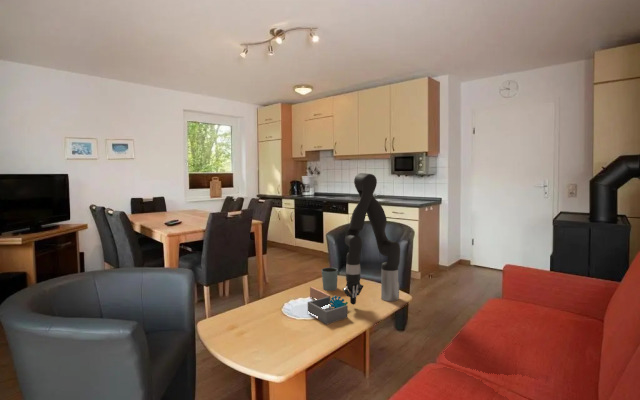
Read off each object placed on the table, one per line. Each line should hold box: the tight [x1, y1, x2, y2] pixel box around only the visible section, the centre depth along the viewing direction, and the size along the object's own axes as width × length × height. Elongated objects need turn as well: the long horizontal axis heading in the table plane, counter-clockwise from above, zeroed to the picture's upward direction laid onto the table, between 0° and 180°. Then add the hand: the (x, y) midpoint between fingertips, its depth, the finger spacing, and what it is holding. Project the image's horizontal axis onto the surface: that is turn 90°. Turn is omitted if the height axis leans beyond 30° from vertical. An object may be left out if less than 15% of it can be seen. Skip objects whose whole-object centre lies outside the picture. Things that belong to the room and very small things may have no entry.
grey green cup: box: [321, 267, 339, 292], centre depth 215 cm, size 10×10×12 cm
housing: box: [307, 297, 348, 325], centre depth 174 cm, size 13×16×6 cm
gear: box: [330, 295, 349, 309], centre depth 180 cm, size 11×6×10 cm
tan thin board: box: [309, 286, 332, 305], centre depth 193 cm, size 1×18×6 cm, turn 35°
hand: (353, 303), depth 184 cm, fingers closed
